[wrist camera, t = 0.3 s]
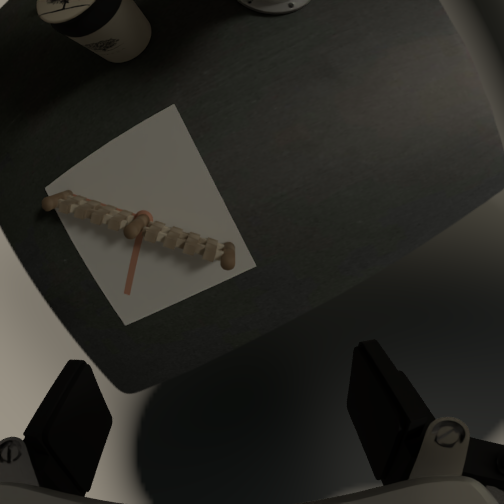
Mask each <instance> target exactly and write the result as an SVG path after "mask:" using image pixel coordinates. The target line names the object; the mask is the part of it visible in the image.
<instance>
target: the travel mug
mask: <svg viewBox="0 0 504 504" xmlns="http://www.w3.org/2000/svg"><path fill="white" fill-rule="evenodd" d="M37 12H38V15H39V16H40V18H41V19H42V20H44V21H45V22H48V23H51V25H52V27H53V28H54V29H55V30H57V31H58V32H60V33H62V34H64V35H65V36H67V37H69V38H71V39H72V40H74V41H76V42H78V43H79V44H81V45H83V46H84V47H86V48H88V49H90V50H91V51H93V52H95V53H96V54H98V55H100V56H101V57H103V58H104V59H106V60H108V61H110V62H115V63H121V62H126V61H129V60H131V59H133V58H135V57H136V56H138V55H139V54H140V53H141V52H142V51H143V50H144V49H145V48H146V46H147V45H148V43H149V41H150V38H151V26H150V23H149V21H148V20H147V19H146V17H145V16H144V14H143V13H142V12H141V10H140V9H139V8H138V6H137V5H136V4H135V2H134V1H133V0H37Z"/></svg>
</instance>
